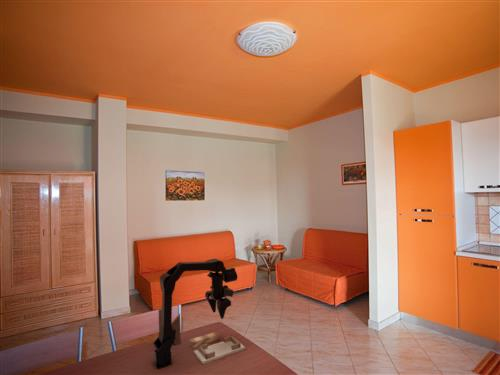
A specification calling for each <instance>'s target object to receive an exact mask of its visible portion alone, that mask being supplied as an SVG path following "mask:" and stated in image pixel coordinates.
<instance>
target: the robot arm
mask: <svg viewBox="0 0 500 375" xmlns="http://www.w3.org/2000/svg"><path fill="white" fill-rule="evenodd" d="M198 271H209V273H208V274H207V275H206V276H207V277H208V278H210V279H211V285H210V287H209V288H210V290H207V291H205V293H204V296H205V299H206V300H207V302H208V304H209V306H210V308H211V311H212V313H216V310H217V312H218V313H219V317H220V319H221V320H223V319H224V317H225V314H226V311H227V309H228V308H229V307H230V306H232V300H230V299H229V298H227V297H231V298H232V297H234V292H235V290H234V289H232V288H229V285H225V284H224V283H226V284H227V283H231V282H236V281H237V280H238V273H237V271H236V268H235V267H229V268H226V266H225V264H224V262H223V261H222V260H220V259H219V258H218V259H217V258H211V259H208V260H206V261H186V262H185V261H179V262H177V263H176V264H175V265H174V266H172V267H171V268H170V269H168V270H167V271H166V272H164V273H162V274H161V275H160V277H159V278H158V279H159V280H158V281H159V285H160V290H161V297H162V300H161V303H162V304H161V308H162V325H161V327H160V330H159V329H158V330H159V331H158V334H157V335H158V336H157V337H156V339H155V341H154V342H153V346H154V348H155V349H154V352H153V353H154V360H153V364H154V366H155V368H156V369H157V370H159V369H161V368H162V369H163V368H164V367H167V366H171V365H172V351H171V348H172V346H173V345H175V344H174V341H175V339H176V337H175V334H176V330H175V328H174V327H173V326H172V321H173V320H172V317H173V316H172V314H173V313H172V312H173V294H174V290H175V287H176V284H177V282H178V281H179V279H180V278H181V277H182V275H183V273H185V272H198Z"/></svg>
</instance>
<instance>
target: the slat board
mask: <svg viewBox="0 0 500 375" xmlns="http://www.w3.org/2000/svg"><path fill="white" fill-rule="evenodd" d="M197 347H198V348H197V349H195V350H193V353H194V356H196V357H197V359H198V360H199V361H200V363H201V364H202V365H204V364H207V363H210V362H213V361H216V360H218V359H221V358H224V357H226V356H228V355H229V356H230V355H232V354H235V353H238V352H240V351H243V350H245V349H246V347H245V346H244V345H243V344H242V343H241V342H240V341H239V340H237V338H235V337H234V336H233V335H229V336H225V337H223V341H219V342H218V343H217V342H216V343H214V344H210V345H209V343H206V344H203V345H200V346H197Z"/></svg>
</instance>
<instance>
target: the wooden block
mask: <svg viewBox="0 0 500 375" xmlns="http://www.w3.org/2000/svg"><path fill="white" fill-rule="evenodd" d="M161 325H162V307H159V308H158V330H160V327H161ZM172 326H173V327H174V328H175V330H176V334H175V337H176V339H175V341H174V344H173V345H180V344H181V340H182V339H181V338H182V336H181V335H182V334H181V333H182V332H181V329H182V328H181V313H179V314H178V315H177V316H176V317H175V318H174V319H173V320H172Z"/></svg>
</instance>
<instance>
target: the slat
mask: <svg viewBox="0 0 500 375" xmlns="http://www.w3.org/2000/svg"><path fill="white" fill-rule="evenodd" d="M215 341H219V334H218V333H217V332H215V331H214V332H211V333H208V334H205V335H201V336H197V337H194V338H190V339H189V346H191V348H192V349H194V348H197V347H198V346H200V345H203V344H206V343H207V344H209V343H212V342H215Z"/></svg>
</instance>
